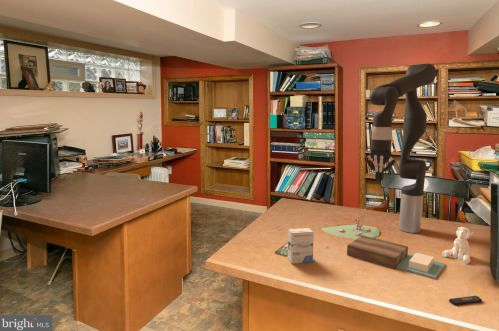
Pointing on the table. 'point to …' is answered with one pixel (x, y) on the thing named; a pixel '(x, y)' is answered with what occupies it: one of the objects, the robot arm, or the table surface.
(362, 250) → the plate
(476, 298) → the usb stick
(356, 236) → the green diorama
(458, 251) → the sitting furry creature
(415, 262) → the ivory tile
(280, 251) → the smartphone
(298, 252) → the ink box
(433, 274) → the teal mat
